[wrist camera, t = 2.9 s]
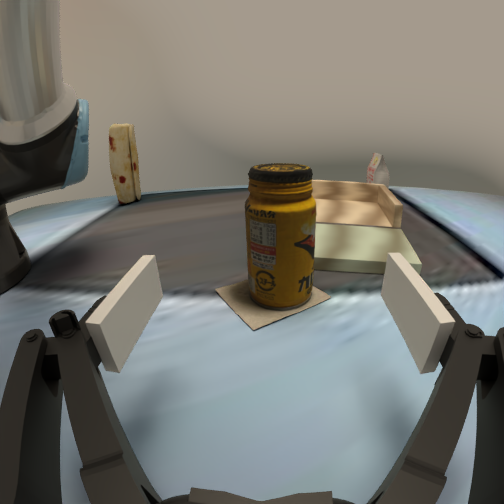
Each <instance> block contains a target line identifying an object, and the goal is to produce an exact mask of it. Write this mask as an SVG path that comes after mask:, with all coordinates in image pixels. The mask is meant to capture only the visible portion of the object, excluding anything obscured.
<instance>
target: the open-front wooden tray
mask: <svg viewBox="0 0 504 504" xmlns="http://www.w3.org/2000/svg"><path fill="white" fill-rule="evenodd" d="M312 187H313V192H312V196H313V198H314V199H315V201H316V212H317V215H316V229H315V252H314V254H315V255H314V270H329V271H344V272H359V273H375V274H385V268H386V262H387V255H388V253H401V255H402V256H403V257H404V258H405V259H406V260H407V261H408V263H409V264H410V265H411V266H412V267H413V268H414V270H415V271H416V272H417V273H418V274H419V276H420V271H421V267H422V263H421V262H420V260H419V258H418V256H417V255H416V253H415V251H414V250H413V248H412V246H411V245H410V243H409V242H408V240H407V238H406V237H405V235H404V234H403V232H402V230H401V228H400V226H401V218H402V210H403V205H402V204H401V203H400V202H399V200H398V199H397V198H396V197H395V196H394V195H393V194H392V193H391V192H390V191H389V190H388V188H387V187H386V186H385V185H384V184H373V183H360V182H359V183H358V182H345V181H325V180H312ZM247 265H248V259H247Z"/></svg>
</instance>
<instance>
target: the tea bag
mask: <svg viewBox="0 0 504 504" xmlns="http://www.w3.org/2000/svg"><path fill="white" fill-rule="evenodd" d="M367 183H373V184H384V185H385V186H386V187H387V188H388V187H389V172H388V169H387V167H386V164H385V162H384V158H383V155H380V154H378V153H374V155H373V158H372V160H371V162H370V164H369V166H368V169H367Z"/></svg>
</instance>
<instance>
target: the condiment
mask: <svg viewBox="0 0 504 504" xmlns="http://www.w3.org/2000/svg"><path fill="white" fill-rule="evenodd" d="M248 175H249V180H250V181H249V187H248V190H249V192H250V195H249V197H248V199H247V200H246V202H245V217H246V239H247V259H248V280H244V281H242V282H239V283H236V284H233V285H229V286H224V287H221V288H218V289H215V290H216V291H217V292H218V293H219V295H220V296H221V297H222V298H223V299H224V300H225V301H226V302H227V304H228V305H229V306H230V307H231V308H232V309H233V310H234V311H235V313H236V314H238V315H239V316H240V317H241V318H242V319H243V320H244V321H245V323H247V324H248V325H249V326H250V327H251V328H252V329H253V330H255V329H257V328H260V327H261V326H264V325H268V324H270V323H272V322H273V321H276V320H279V319H282V318H283V317H286V316H289V315H292V314H295V313H297V312H300V311H302V310H305V309H307V308H309V307H311V306H314V305H316V304H318V303H320V302H323V301H325V300H327V299H329V298H330V297H331V296H329V295H328V294H326V293H324V292H322V291H321V290H319V289H317V288H315V287H314V286H312V285H313V272H314V271H313V270H314V255H315V254H314V252H315V229H316V215H317V212H316V201H315V199H314V198H313V196H312V192H313V187H312V175H313V174H312V169H311V168H309V167H308V166H305V165H299V164H286V163H285V164H283V163H276V164H275V163H274V164H262V165H256V166H253V167H252V168H251V169H250V171H249V173H248Z"/></svg>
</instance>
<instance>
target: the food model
mask: <svg viewBox="0 0 504 504" xmlns="http://www.w3.org/2000/svg"><path fill="white" fill-rule="evenodd" d="M109 156H110V169H111V174H112V178H113V182H114V186H115V190H116V193H117V197H118V201H119V203H120V204H124V203H129V202H133V201H135V199H136V197H137V199H138V200H140V198H141V190H140V181H139V168H138V154H137V148H136V141H135V134H134V125H130V124H121V125H120V124H113V125H112V126H111V127H110V128H109Z"/></svg>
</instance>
